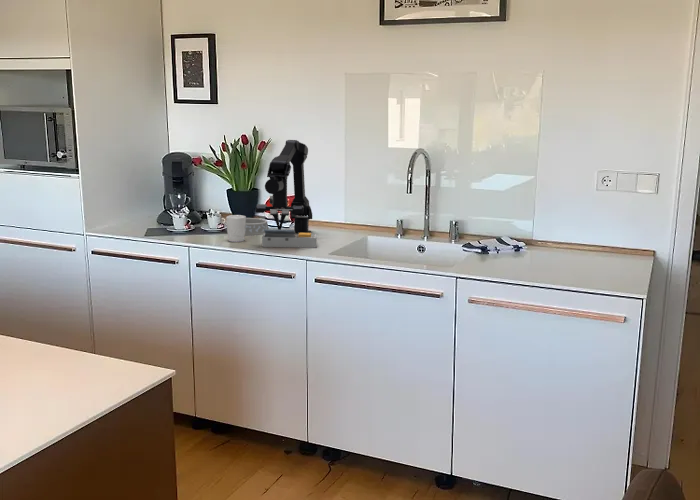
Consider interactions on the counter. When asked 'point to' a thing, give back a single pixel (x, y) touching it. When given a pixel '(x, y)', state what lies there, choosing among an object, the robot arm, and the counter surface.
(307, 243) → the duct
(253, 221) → the dog bowl
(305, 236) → the mustard yellow box
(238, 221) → the white cup
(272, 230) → the panel
